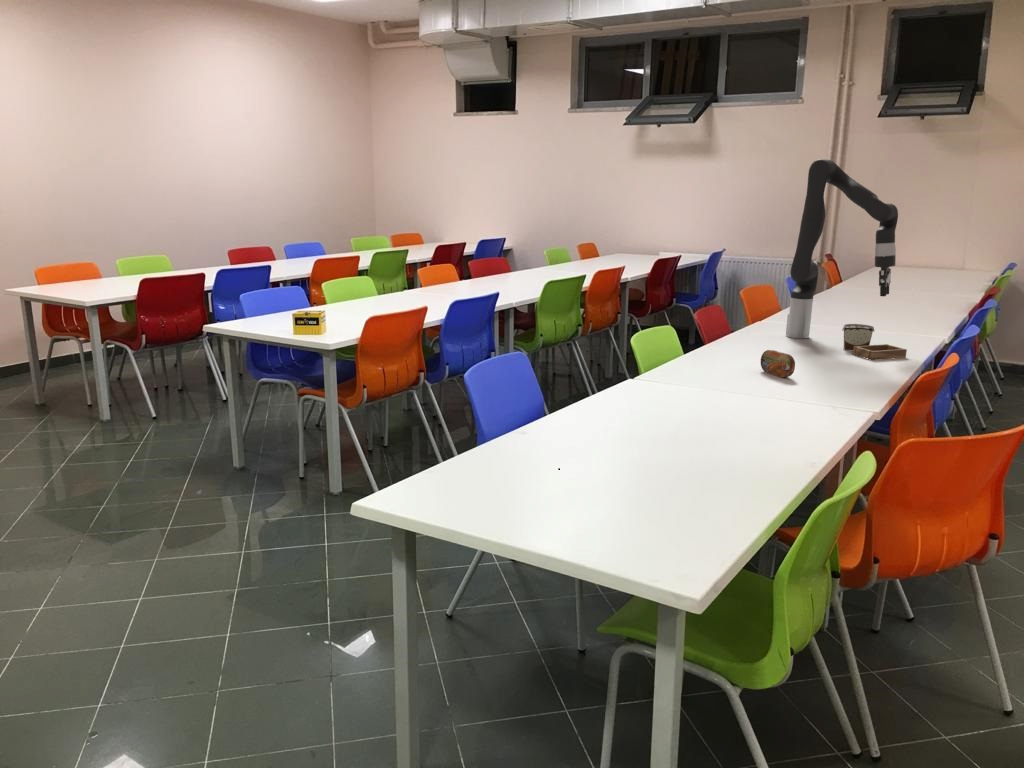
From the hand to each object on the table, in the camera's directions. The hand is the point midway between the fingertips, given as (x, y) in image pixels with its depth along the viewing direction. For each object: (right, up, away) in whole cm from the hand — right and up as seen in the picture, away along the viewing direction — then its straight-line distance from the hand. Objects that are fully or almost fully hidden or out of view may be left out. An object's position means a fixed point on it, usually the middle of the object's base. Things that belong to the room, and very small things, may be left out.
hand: (884, 295), depth 320 cm
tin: (-56, -33, -38) cm, 75 cm away
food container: (-10, -22, +6) cm, 24 cm away
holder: (-6, -25, -7) cm, 26 cm away
